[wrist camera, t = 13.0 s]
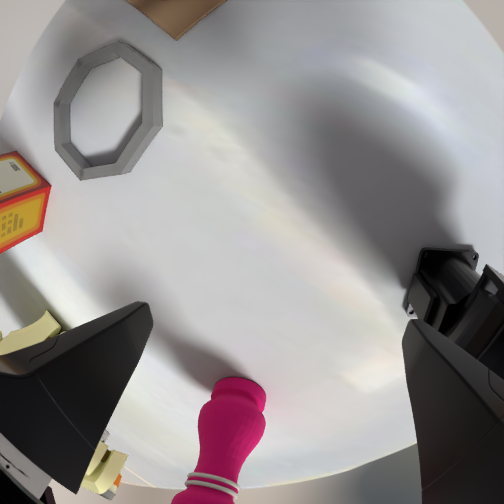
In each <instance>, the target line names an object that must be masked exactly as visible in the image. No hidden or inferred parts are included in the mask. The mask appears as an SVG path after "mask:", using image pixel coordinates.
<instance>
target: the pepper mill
mask: <svg viewBox="0 0 504 504" xmlns="http://www.w3.org/2000/svg"><path fill="white" fill-rule="evenodd" d="M265 402H266V394H265V392H264V390H263V389H262V388H261V387H260V386H259V385H257V384H256V383H254V382H252V381H250V380H247V379H243V378H237V377H229V378H224V379H221V380H220V381H218V382H217V383H216V384H215V386H214V389H213V392H212V394H211V400H210V401H208V402H207V403H206V404H204V405H203V407H202V408H201V410H200V414H199V418H198V433H199V441H200V455H199V459H198V463H197V466H196V468H195V470H194V472H193V473H189V474H188V479H187V481H186V482H185V486H186V487H187V489H186V490H184V491H182V492H180V493H178V494H176V495H175V496H174V498H173V500H172V502H171V504H234V502H233V500H235V499H237V498H238V491H239V490H240V487H239V485H238V484H237V480H238V475H239V472H240V469H241V467H242V465H243V463H244V461H245V459H246V458H247V456H248V455H249V454H250V453H251V451H252V450H253V449H254V448H255V447H256V445H257V444H258V443H259V441H260V439H261V437H262V436H263V433H264V429H265V425H266V422H265V418H264V416H263V414H262V412H263V410H264V407H265Z"/></svg>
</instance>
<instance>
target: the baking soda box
mask: <svg viewBox="0 0 504 504" xmlns="http://www.w3.org/2000/svg"><path fill="white" fill-rule="evenodd" d="M50 190H51V185H50V184H49V183H48V182H47V181H46V180H45V179H44V178H43V177H42V176H41V175H40V174H39V173H38V172H37V171H36V170H35V169H34V168H33V167H32V166H31V165H30V164H29V163H27V162H26V161H25V160H24V158H23V157H22V156H21V155H20V154H19V153H18V152H17V151H14V152H10V153H6V154H1V155H0V254H1V253H3V252H4V251H6V250H8V249H10V248H11V247H13V246H15V245H17V244H19V243H21V242H22V241H24V240H26V239H28V238H30V237H32V236H34V235H36V234H38V233H40V232H42V230H43V224H44V218H45V213H46V208H47V203H48V198H49V194H50Z"/></svg>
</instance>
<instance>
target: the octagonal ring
mask: <svg viewBox="0 0 504 504" xmlns="http://www.w3.org/2000/svg"><path fill="white" fill-rule="evenodd" d="M119 57H121V58H122V59H124V60H125V61H126V62H128V63H129V64H130V65H132V66H133V67H134V68H135V69H137V70H138V71H139V72H141V73H142V124H141V125H140V127H139V128H138V129H137V131H136V132H135V134H134V135H133V137H132V138H131V140H130V141H129V143H128V144H127V146H126V147H125V149H124V150H123V152H122V154H121V155H120V157H119V158H118V160H117V162H116V163H112V164H106V165H100V166H95V167H92V166H91V165H90V164H89V163H88V161H87V160H86V159H85V158H84V157H83V156H82V155H81V154H80V152H79V151H78V150H77V149H76V148H75V147H74V146H73V144H72V143H71V135H70V103H71V101H72V99H73V98H74V96H75V94H76V92H77V90H78V89H79V87H80V85H81V84H82V82H83V80H84V79H85V77H86V75H87V74H88V72H89V71H90V69H92V68H94V67H96V66H99V65H101V64H104V63H106V62H109V61H111V60H114V59H117V58H119ZM162 127H163V116H162V69H161V68H159V67H158V66H157V65H155V64H154V63H153V62H151V61H150V60H149V59H147V58H146V57H144V56H143V55H142V54H140V53H139V52H137V51H136V50H135V49H133V48H132V47H130V46H129V45H127V44H124V43H122V42H116V43H114V44H111V45H109V46H106V47H104V48H102V49H99V50H97V51H95V52H93V53H91V54H88V55H86V56H84V57H82V58H80V59H78V61H77V62H76V64H75V65H74V67H73V69H72V70H71V72H70V74H69V76H68V77H67V79H66V81H65V83H64V84H63V86H62V88H61V90H60V92H59V94H58V96H57V98H56V100H55V102H54V143H55V151H56V152H57V153H58V154H59V156H60V157H61V158H62V159H63V161H64V162H65V163H66V164H67V165H68V167H69V168H70V169H71V170H72V171H73V173H74V174H75V175H76V176H77V177H78V178H79V180H80V181H81V180H87V179H93V178H100V177H107V176H114V175H122V174H125V173H129V172H131V170H132V169H133V167H134V166H135V164H136V163H137V161H138V160H139V158H140V157H141V155H142V154H143V153H144V151H145V150H146V148H147V147H148V145H149V144H150V143H151V141H152V140H153V139H154V137H155V136H156V135H157V133H158V132H159V131H160V129H161V128H162Z"/></svg>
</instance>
